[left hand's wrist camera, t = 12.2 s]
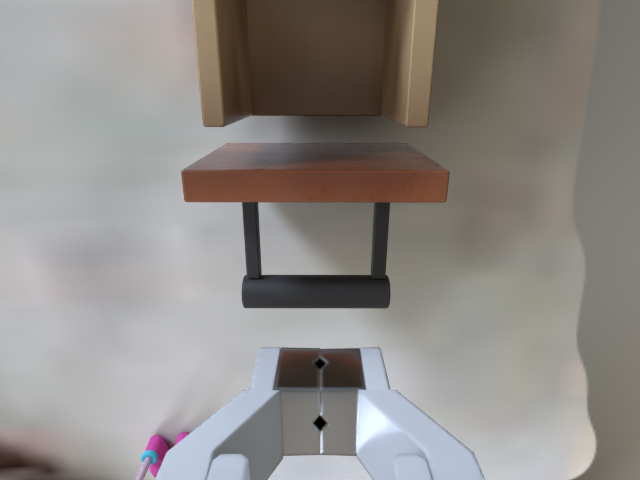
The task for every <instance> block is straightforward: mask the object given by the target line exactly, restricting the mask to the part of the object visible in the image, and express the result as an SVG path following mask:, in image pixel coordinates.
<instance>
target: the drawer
mask: <svg viewBox="0 0 640 480" xmlns="http://www.w3.org/2000/svg"><path fill="white" fill-rule="evenodd" d="M438 6H439V0H192V10H193V21H194V32H195V43H196V54H197V65H198V76H199V87H200V98H201V109H202V119H203V125H204V126H205V127H224V126H226V125H229V124H231V123H234V122H236V121H239V120H241V119H244V118H246V117H249V116H383V117H385V118H388V119H390V120H392V121H394V122H397V123H399V124H401V125H403V126H405V127H427V126H428V119H429V108H430V97H431V85H432V74H433V63H434V51H435V40H436V29H437V18H438ZM181 174H182V183H183V192H184V200H185V202H242V206H243V222H244V237H245V253H246V268H247V275H245V276H244V278H243V283H242V303H243V306H244V308H388V307H389V304H390V282H389V278H388V276H387V275H385V273H386V256H387V240H388V224H389V208H390V202H410V203H444V202H446V200H447V191H448V182H449V171H448V170H447V169H445V168H444V167H442V166H441V165H439V164H437V163H436V162H434V161H433V160H431V159H430V158H428V157H427V156H425V155H423V154H422V153H420V152H419V151H417V150H416V149H414V148H412V147H411V146H409V145H408V144H406V143H227V144H225V145H223V146H222V147H220V148H218V149H217V150H215V151H213V152H212V153H210V154H208V155H207V156H205V157H203V158H202V159H200V160H198V161H197V162H195V163H193V164H192V165H190V166H188V167H187V168H185V169H183V170H182V171H181ZM258 202H374V218H373V239H372V260H371V275H261V253H260V234H259V214H258Z"/></svg>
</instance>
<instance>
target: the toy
mask: <svg viewBox="0 0 640 480" xmlns="http://www.w3.org/2000/svg"><path fill="white" fill-rule="evenodd" d="M188 434H189V433H186V432H183V433H180V434H179V435H178V437H177V440H176V443H175V445H176V444H177V443H179V442H180V441H181V440H182V439H184V438H185V437H186V436H187V435H188ZM167 451H169V448H168V445H167V443H166V441H165V440H164V438H163V437H161V436H160V435H154V436H152V437H151V439H150V441H149V443H148V445H147V448H146V450H145V452H144V453H143V454H142V456H141V460H142V462H143V464H142V466H141V468H140V471H139V473H138V475H137V477H136V479H135V480H143V479H144V476H145V474H146V472H147V470H148V468H149V470H150V472H151V473H152V474H153V476H154V477H156V476H157V474H158V471H159V469H160V467H161V464H162V462H163V460H164V457H165V455H166V453H167Z"/></svg>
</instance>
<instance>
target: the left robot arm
mask: <svg viewBox="0 0 640 480" xmlns="http://www.w3.org/2000/svg"><path fill="white" fill-rule="evenodd" d="M296 455H344V456H357V458H358V460H359V461H360V463H361V464H362V465H363V467H364V468H365V469H366V471H367V472H368V474H369V475H370V476H371V478H372V479H373V480H485V478H484V476H483V473H482V471H481V469H480V466H479V464H478V462H477V459H476V457H475V454H474V453H473V452H472V451H471V450H470V449H469V448H467V447H466V446H465V445H464V444H462V443H461V442H460V441H459V440H457V439H456V438H455V437H454V436H453V435H451V434H450V433H449V432H448V431H446V430H445V429H444V428H443V427H441V426H440V425H439V424H438V423H436V422H435V421H434V420H433V419H432V418H430V417H429V416H428V415H427V414H425V413H424V412H423V411H422V410H420V409H419V408H418V407H417V406H415V405H414V404H413V403H412V402H411V401H409V400H408V399H407V398H406V397H404V396H403V395H402V394H401V393H399V392H398V391H397V390H390V386H389V381H388V377H387V373H386V369H385V365H384V360H383V356H382V352H381V349H380V348H379V347H371V348H346V349H320V348H279V347H274V348H260V350H259V352H258V356H257V360H256V364H255V369H254V373H253V377H252V381H251V385H250V390H243V391H242V392H241V393H239V394H238V395H237V396H236V397H234V398H233V399H232V400H231V401H229V402H228V403H227V404H226V405H224V406H223V407H222V408H221V409H220V410H218V411H217V412H216V413H215V414H213V415H212V416H211V417H210V418H208V419H207V420H206V421H205V422H203V423H202V424H201V425H200V426H198V427H197V428H196V429H195V430H193V431H192V432H191V433H190V434H188V435H187V436H186V437H185V438H184V439H182V440H181V441H180V442H179V443H177V444H176V445H175V446H174V447H172V448H171V449H170V450H169V451H167V453H166V455H165V457H164V460H163V462H162V464H161V467H160V469H159V471H158V474H157V476H156V478H155V480H267V479H268V478H269V477H270V475H271V474H272V473H273V471H274V470H275V469H276V467H277V466H278V464H279V463H280V462H281V460H282V459H283V456H296Z"/></svg>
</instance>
